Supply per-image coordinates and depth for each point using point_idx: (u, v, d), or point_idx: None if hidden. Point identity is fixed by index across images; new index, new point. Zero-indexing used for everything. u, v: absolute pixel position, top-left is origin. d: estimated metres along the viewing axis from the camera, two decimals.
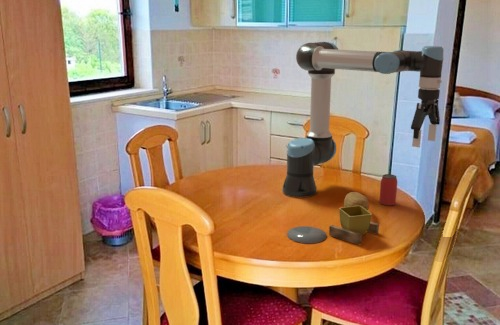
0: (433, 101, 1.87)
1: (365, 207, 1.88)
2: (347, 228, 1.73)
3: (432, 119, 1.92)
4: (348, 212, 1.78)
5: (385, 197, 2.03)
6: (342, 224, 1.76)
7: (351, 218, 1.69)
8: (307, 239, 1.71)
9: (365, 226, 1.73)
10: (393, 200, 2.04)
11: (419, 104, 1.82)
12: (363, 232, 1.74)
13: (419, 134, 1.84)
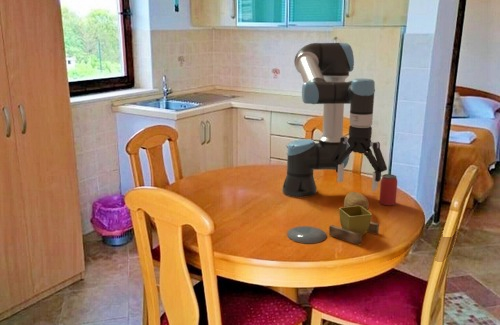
0: (364, 141, 1.65)
1: (365, 207, 1.88)
2: (347, 228, 1.73)
3: None
4: (348, 212, 1.78)
5: (385, 197, 2.03)
6: (342, 224, 1.76)
7: (351, 218, 1.69)
8: (307, 239, 1.71)
9: (365, 226, 1.73)
10: (393, 200, 2.04)
11: None
12: (363, 232, 1.74)
13: (338, 168, 1.74)
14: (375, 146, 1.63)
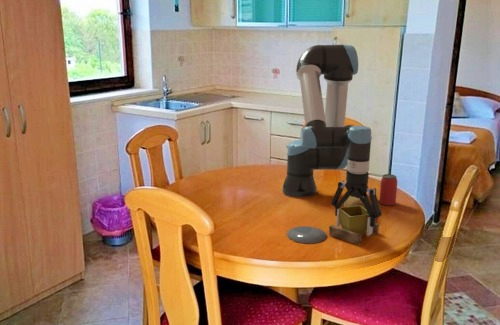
0: (361, 187, 1.69)
1: None
2: (347, 228, 1.73)
3: None
4: (348, 212, 1.78)
5: (385, 197, 2.03)
6: (342, 224, 1.76)
7: (351, 218, 1.69)
8: (307, 239, 1.71)
9: (365, 226, 1.73)
10: (393, 200, 2.04)
11: None
12: (363, 232, 1.74)
13: None
14: (371, 193, 1.67)
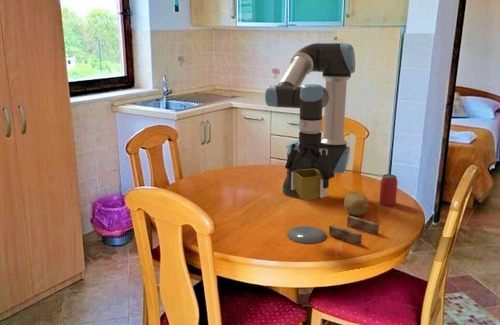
0: (314, 147, 1.65)
1: (365, 207, 1.88)
2: (300, 190, 1.68)
3: None
4: (303, 175, 1.74)
5: (385, 197, 2.03)
6: (296, 187, 1.72)
7: (303, 179, 1.65)
8: (307, 239, 1.71)
9: (318, 188, 1.68)
10: (393, 200, 2.04)
11: None
12: (317, 195, 1.69)
13: None
14: (324, 153, 1.62)
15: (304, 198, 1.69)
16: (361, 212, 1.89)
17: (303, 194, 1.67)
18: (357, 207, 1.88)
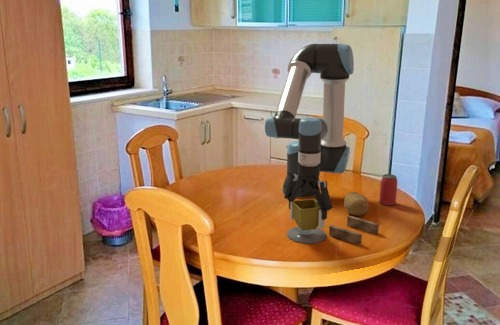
0: (312, 179, 1.68)
1: (365, 207, 1.88)
2: (299, 221, 1.71)
3: None
4: (301, 205, 1.77)
5: (385, 197, 2.03)
6: (295, 217, 1.75)
7: (302, 211, 1.68)
8: (307, 239, 1.71)
9: (317, 219, 1.71)
10: (393, 200, 2.04)
11: None
12: (315, 225, 1.72)
13: None
14: (322, 185, 1.65)
15: (303, 229, 1.72)
16: (361, 212, 1.89)
17: (302, 225, 1.70)
18: (357, 207, 1.88)
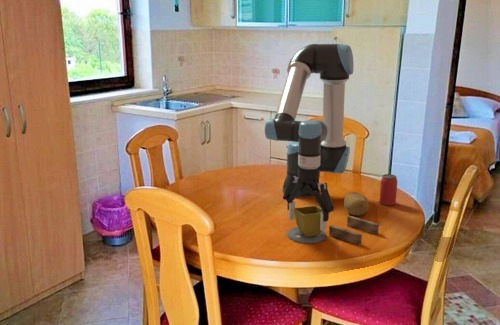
0: (312, 182, 1.68)
1: (365, 207, 1.88)
2: (302, 227, 1.71)
3: None
4: (304, 212, 1.77)
5: (385, 197, 2.03)
6: (298, 224, 1.75)
7: (304, 216, 1.68)
8: (307, 239, 1.71)
9: None
10: (393, 200, 2.04)
11: None
12: (319, 231, 1.72)
13: None
14: (322, 187, 1.66)
15: (306, 235, 1.71)
16: (361, 212, 1.89)
17: (305, 231, 1.70)
18: (357, 207, 1.88)
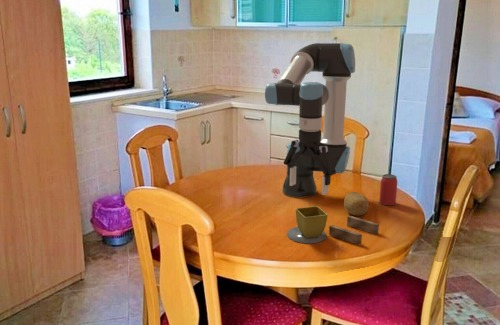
0: (313, 145, 1.65)
1: (365, 207, 1.88)
2: (303, 229, 1.71)
3: None
4: (305, 213, 1.77)
5: (385, 197, 2.03)
6: (298, 225, 1.75)
7: (306, 219, 1.68)
8: (307, 239, 1.71)
9: (321, 227, 1.71)
10: (393, 200, 2.04)
11: None
12: (319, 233, 1.72)
13: None
14: (324, 150, 1.62)
15: (307, 236, 1.72)
16: (361, 212, 1.89)
17: (306, 233, 1.70)
18: (357, 207, 1.88)
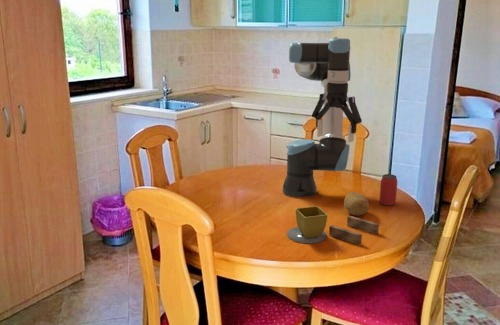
0: (341, 96, 1.79)
1: (365, 207, 1.88)
2: (303, 229, 1.71)
3: None
4: (305, 213, 1.76)
5: (385, 197, 2.03)
6: (298, 225, 1.75)
7: (306, 219, 1.68)
8: (307, 239, 1.71)
9: (321, 227, 1.71)
10: (393, 200, 2.04)
11: None
12: (319, 233, 1.72)
13: (318, 123, 1.88)
14: (350, 100, 1.77)
15: (307, 236, 1.72)
16: (361, 212, 1.89)
17: (306, 233, 1.70)
18: (357, 207, 1.88)
